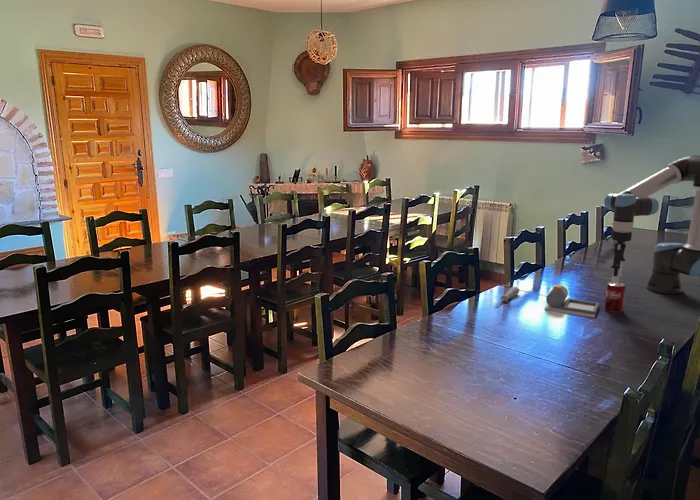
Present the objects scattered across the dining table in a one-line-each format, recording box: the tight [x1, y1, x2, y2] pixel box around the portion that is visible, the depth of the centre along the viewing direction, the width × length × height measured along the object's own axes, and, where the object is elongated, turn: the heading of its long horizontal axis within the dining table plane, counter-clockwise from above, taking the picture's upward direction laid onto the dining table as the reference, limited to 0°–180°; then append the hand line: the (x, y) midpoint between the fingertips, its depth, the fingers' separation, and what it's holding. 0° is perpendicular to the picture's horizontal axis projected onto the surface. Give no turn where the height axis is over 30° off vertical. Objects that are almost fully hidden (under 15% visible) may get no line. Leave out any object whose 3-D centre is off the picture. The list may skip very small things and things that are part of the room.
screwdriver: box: [495, 286, 520, 307], centre depth 241 cm, size 5×25×4 cm, turn 140°
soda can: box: [604, 281, 626, 314], centre depth 225 cm, size 7×7×12 cm
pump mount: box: [544, 283, 600, 319], centre depth 229 cm, size 20×16×9 cm
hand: (616, 279), depth 223 cm, fingers open, 13 cm apart
